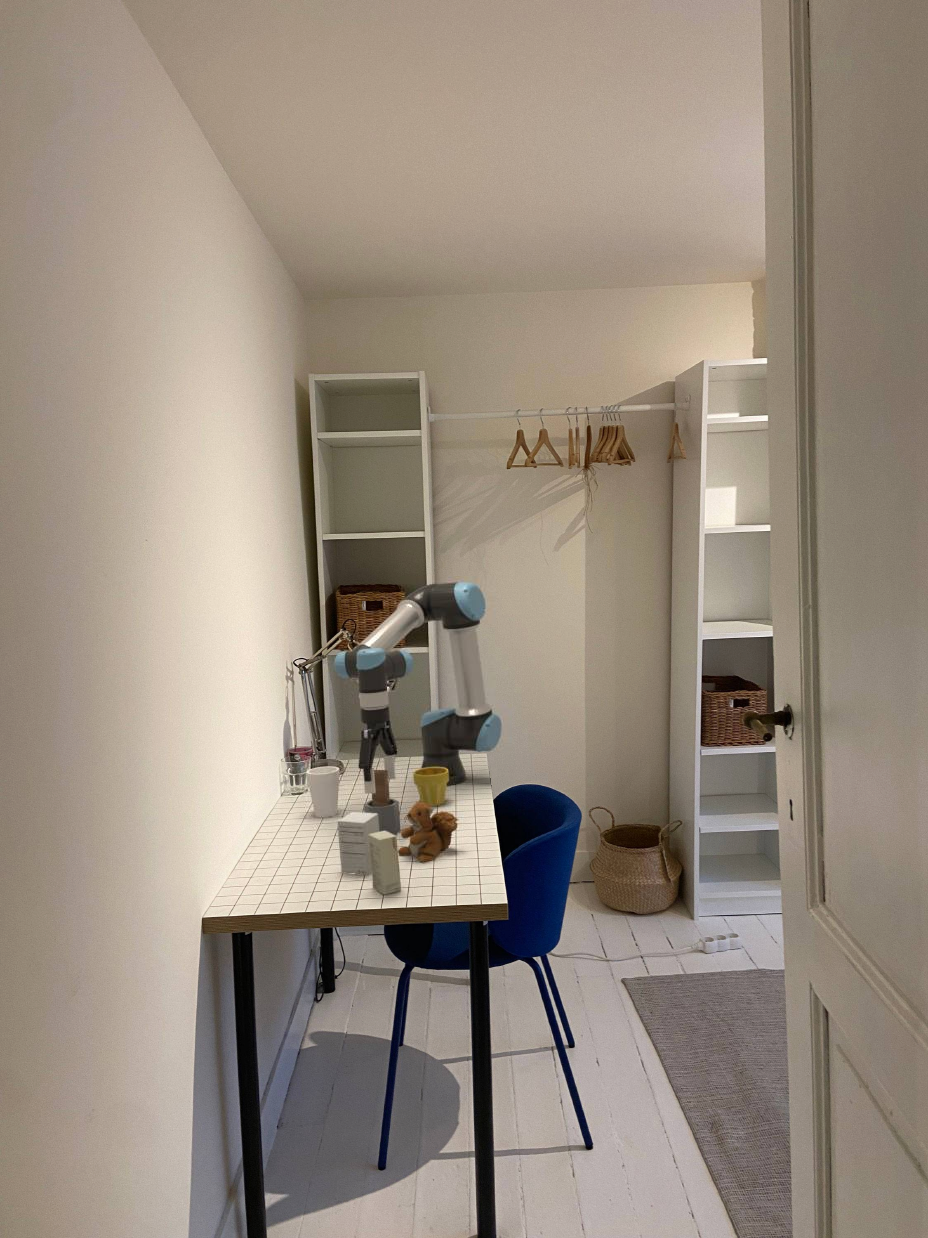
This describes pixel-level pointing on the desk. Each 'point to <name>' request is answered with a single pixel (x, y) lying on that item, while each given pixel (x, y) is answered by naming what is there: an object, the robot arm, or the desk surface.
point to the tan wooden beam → (381, 789)
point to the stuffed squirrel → (427, 832)
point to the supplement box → (356, 841)
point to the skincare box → (384, 862)
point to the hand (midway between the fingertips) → (380, 786)
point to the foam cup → (324, 790)
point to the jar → (386, 816)
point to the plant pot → (431, 784)
